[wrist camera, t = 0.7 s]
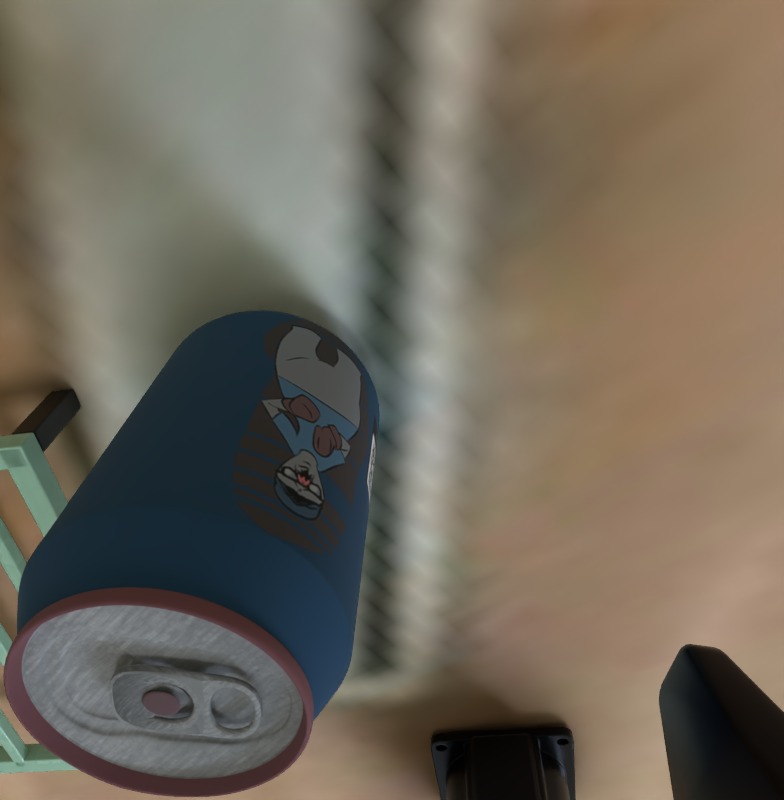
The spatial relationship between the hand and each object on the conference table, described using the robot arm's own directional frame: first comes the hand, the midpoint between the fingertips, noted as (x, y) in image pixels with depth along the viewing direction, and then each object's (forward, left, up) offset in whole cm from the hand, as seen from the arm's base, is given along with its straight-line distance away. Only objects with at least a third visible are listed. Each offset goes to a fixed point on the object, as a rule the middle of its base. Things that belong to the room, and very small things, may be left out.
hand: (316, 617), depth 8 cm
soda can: (-4, +4, -14) cm, 15 cm away
